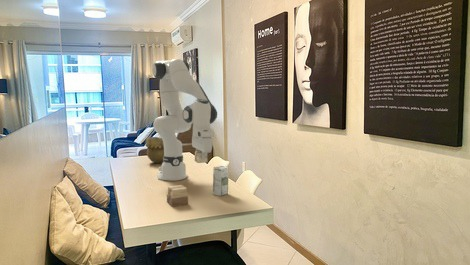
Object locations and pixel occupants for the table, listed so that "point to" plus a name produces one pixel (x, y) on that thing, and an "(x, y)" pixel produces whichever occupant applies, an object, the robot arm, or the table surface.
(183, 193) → the oak slab
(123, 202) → the table surface
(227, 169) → the syrup box
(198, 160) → the maple cube
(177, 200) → the walnut slab
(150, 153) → the clay pot
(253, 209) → the table surface
